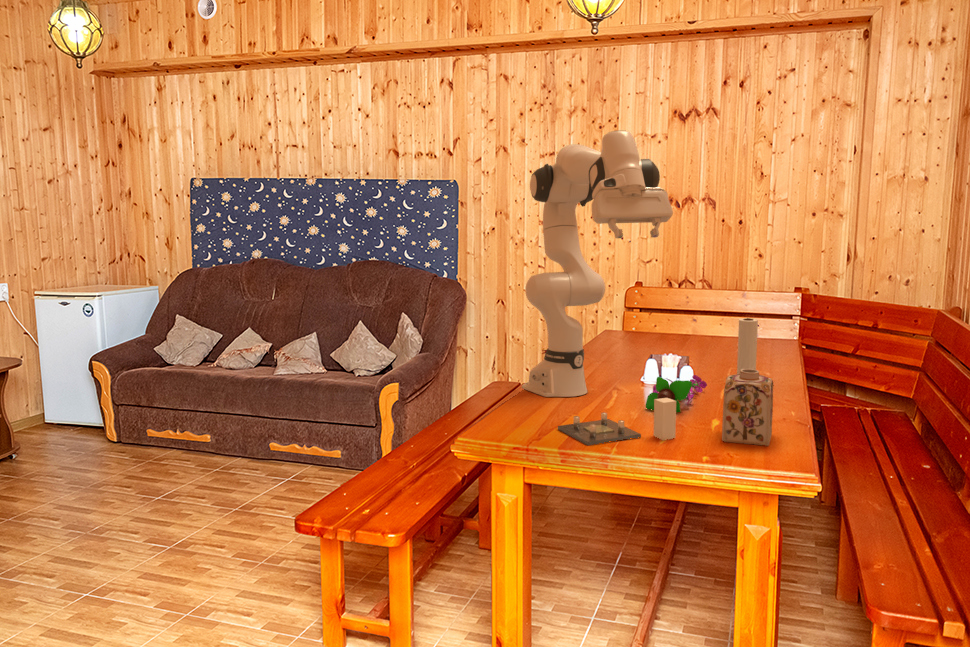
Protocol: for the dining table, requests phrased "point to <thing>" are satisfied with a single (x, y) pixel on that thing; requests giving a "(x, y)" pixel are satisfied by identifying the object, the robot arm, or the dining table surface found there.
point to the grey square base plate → (598, 430)
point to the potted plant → (674, 390)
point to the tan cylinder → (747, 344)
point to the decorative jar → (748, 408)
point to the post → (664, 418)
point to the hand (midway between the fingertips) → (637, 236)
